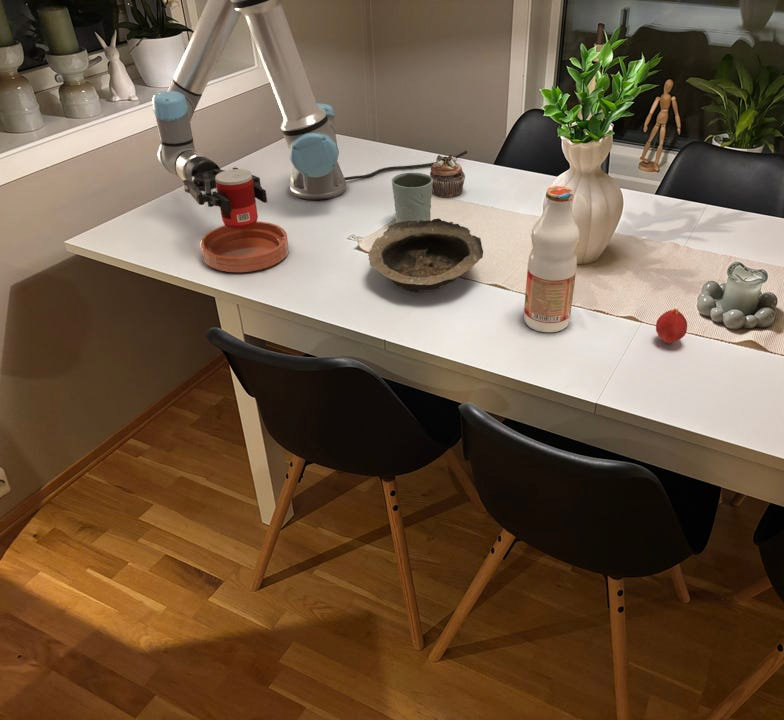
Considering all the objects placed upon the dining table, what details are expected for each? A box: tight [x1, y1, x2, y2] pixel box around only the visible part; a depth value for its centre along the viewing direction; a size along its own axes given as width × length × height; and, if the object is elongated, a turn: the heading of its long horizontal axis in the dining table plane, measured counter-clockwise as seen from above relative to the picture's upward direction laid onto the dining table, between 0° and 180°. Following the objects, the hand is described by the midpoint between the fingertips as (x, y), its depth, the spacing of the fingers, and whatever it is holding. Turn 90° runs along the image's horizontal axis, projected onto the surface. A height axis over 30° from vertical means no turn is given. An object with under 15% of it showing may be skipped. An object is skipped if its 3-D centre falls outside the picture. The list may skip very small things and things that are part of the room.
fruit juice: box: [523, 185, 581, 333], centre depth 141 cm, size 9×9×28 cm
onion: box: [655, 307, 688, 345], centre depth 141 cm, size 6×6×8 cm
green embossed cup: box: [391, 172, 433, 223], centre depth 182 cm, size 10×10×12 cm
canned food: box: [215, 168, 259, 229], centre depth 163 cm, size 8×8×11 cm
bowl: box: [200, 220, 290, 273], centre depth 170 cm, size 19×19×4 cm
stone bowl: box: [367, 217, 484, 293], centre depth 160 cm, size 25×25×9 cm
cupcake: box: [429, 154, 466, 199], centre depth 200 cm, size 10×10×10 cm
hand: (247, 201), depth 159 cm, fingers closed on canned food, 8 cm apart
